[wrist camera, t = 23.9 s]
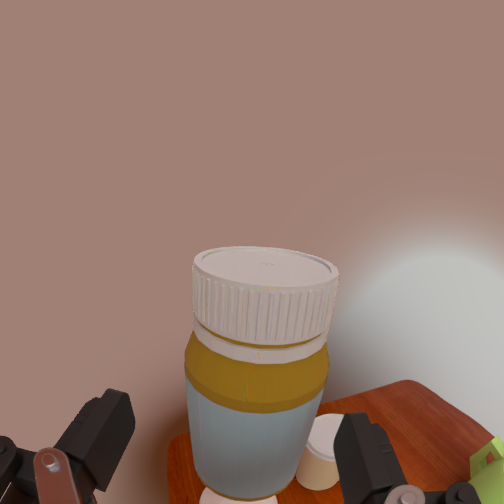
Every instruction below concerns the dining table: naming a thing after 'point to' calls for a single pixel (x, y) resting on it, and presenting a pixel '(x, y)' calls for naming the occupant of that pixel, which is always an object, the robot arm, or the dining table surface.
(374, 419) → the dining table surface
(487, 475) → the teapot
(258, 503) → the water bottle
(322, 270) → the bottle
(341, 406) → the dining table surface
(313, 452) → the coffee cup
